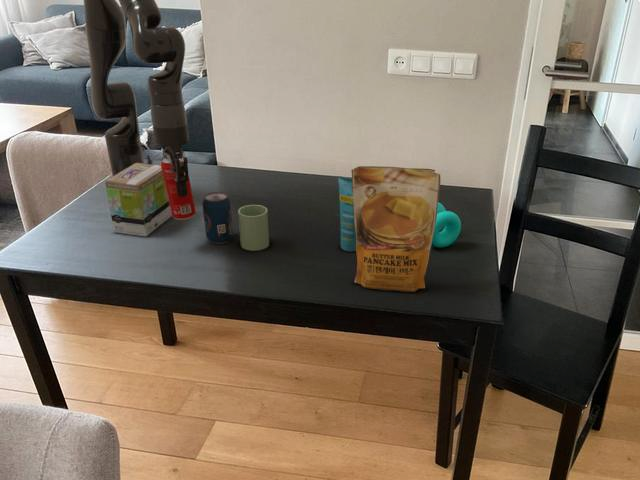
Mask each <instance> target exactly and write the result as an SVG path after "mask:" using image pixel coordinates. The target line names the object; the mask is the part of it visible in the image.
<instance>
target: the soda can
mask: <svg viewBox="0 0 640 480" xmlns="http://www.w3.org/2000/svg"><path fill="white" fill-rule="evenodd" d="M201 203H202V211H203V213H202V214H203V220H204V221H203V222H204V230H205V237H206V238H207V240H208V241H209V242H210V243H212V244H217V245H221V244H226V243H228V242H230V241H231V240H232V238H233V236H234V227H233V216H232V204H231V200H230V198H229V197H228V194H227V193H225V192H220V191H215V192H213V191H212V192H209V193H207V194H205V195H204V196H203V200H202V202H201Z"/></svg>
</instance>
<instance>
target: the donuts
mask: <svg viewBox="0 0 640 480" xmlns="http://www.w3.org/2000/svg"><path fill="white" fill-rule="evenodd" d="M442 229H443V230H442ZM461 230H462V223H461V219H460V217H459V215H457V213H455V212H453V211H449V210H447V209H446V207H445V206H444V205H443V204H442V203H441V202H439V201H438V210H437V219H436V223H435V228H434V234H433V239H432V244H431V247H432V246H433V247H435V248H437V249H439V248H440V249H442V248H446V247H449V246H451V245H452V244H453V243H454V242H455V241H456V240H457V239H458V238H459V236H460V233H461Z"/></svg>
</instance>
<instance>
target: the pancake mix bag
mask: <svg viewBox="0 0 640 480" xmlns="http://www.w3.org/2000/svg"><path fill="white" fill-rule="evenodd" d="M350 171H351V178H352V192H353V208H354V224H355V231H356V251H355V252H356V260H357V261H356V263H357V265H356V274H355V276H354V277H355V278H354V282H353V283H354V284H358V285H360V286H362V287H363V288H365V289H372V290H381V291H382V290H383V291H397V292H408V293H409V292H410V293H415V292H417V291H418V290H421V289H425V288H426V283H425V276H426V272H427V269H428V265H429V264H428V263H429V258H430V252H431V248H432V245H431V244H432V239H433V234H434V228H435V223H436V219H437V210H438V202H439V200H440V199H439V198H440V190H441V173H439V172H436V169H431V168H419V167H418V168H416V167H415V168H413V167H409V168H408V167H401V166H400V167H399V166H379V165H378V166H373V165H371V166H370V165H367V166H366V165H362V166H361V165H359V166H356V167H354V168H352V169H351V170H350Z"/></svg>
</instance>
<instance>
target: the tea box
mask: <svg viewBox="0 0 640 480" xmlns="http://www.w3.org/2000/svg"><path fill="white" fill-rule="evenodd" d="M104 182H105V190H106V195H107V200H108V207H109V211H110V219H111V223H112V229H113V230H112V231H113V232H114V233H117V234H122V235H123V234H124V235H131V236H137V237H148V236H149V235H150V234H151V233H152V232H154V231H155V230H156V229H158V228H159V227H160V226H161V225H162V224H164V223H165V222H167V220H169V219H170V218H172V214H171V209H170V205H169V200H168V196H167V191H166V187H165V182H164V178H163V173H162V168H161V164H160V165H159V164H151V163H150V164H147V163H144V164H142V163H135V164H133V165H131V166H130V167H128V168H126V169H125V170H123V171H121V172H119V173H118V174H116V175H114V176H113V175H112V176H111V177H109V178H107V179H106V180H105V181H104Z"/></svg>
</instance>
